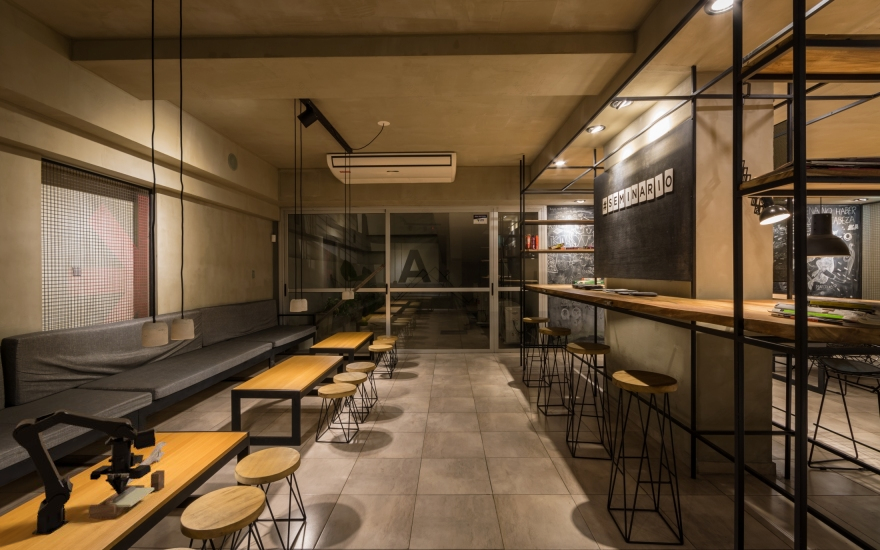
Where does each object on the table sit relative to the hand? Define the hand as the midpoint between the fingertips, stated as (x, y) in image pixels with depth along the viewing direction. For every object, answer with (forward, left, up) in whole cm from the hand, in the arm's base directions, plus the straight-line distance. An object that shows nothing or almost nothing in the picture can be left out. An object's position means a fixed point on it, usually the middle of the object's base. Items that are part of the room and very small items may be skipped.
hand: (120, 494), depth 141 cm
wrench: (+27, +12, -5) cm, 30 cm away
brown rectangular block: (+12, -5, -5) cm, 14 cm away
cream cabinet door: (0, -4, -1) cm, 4 cm away
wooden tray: (0, +1, -5) cm, 5 cm away
